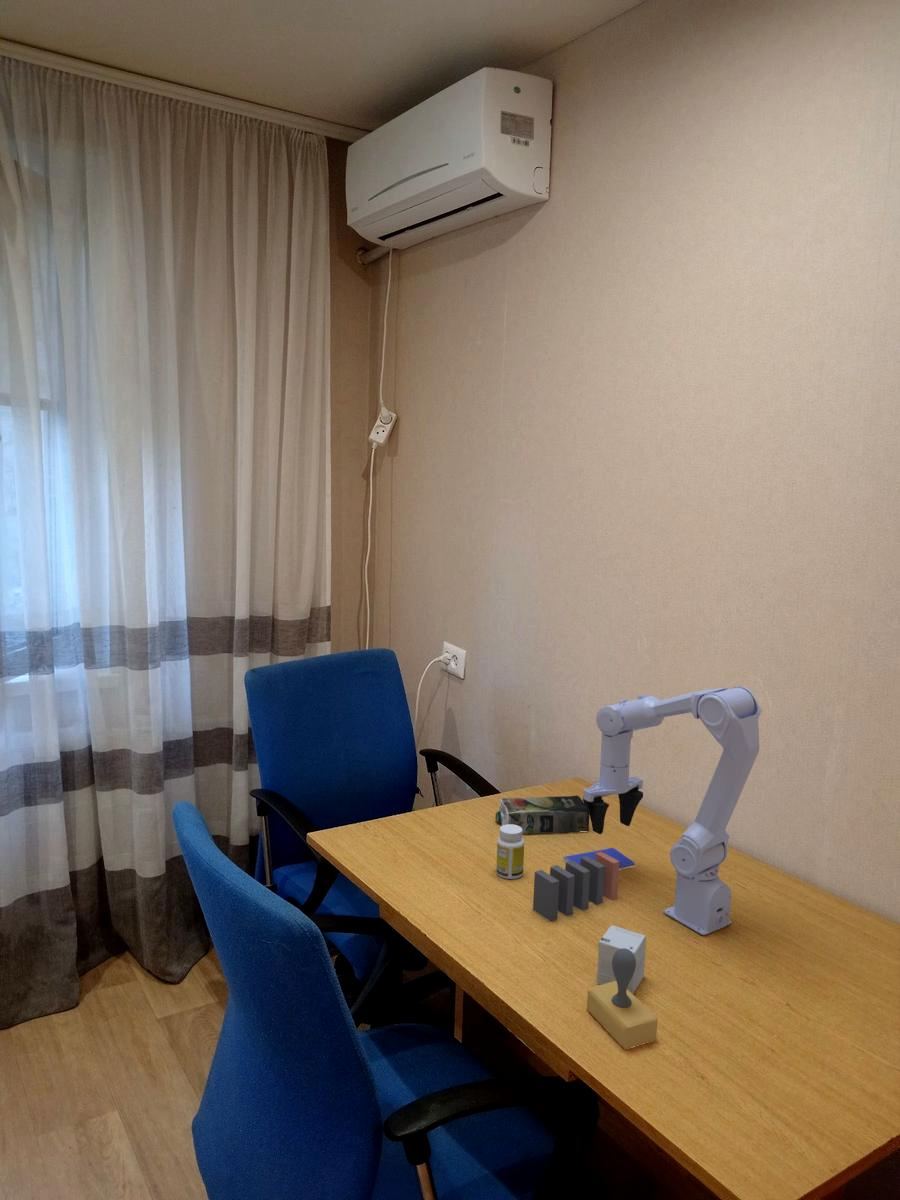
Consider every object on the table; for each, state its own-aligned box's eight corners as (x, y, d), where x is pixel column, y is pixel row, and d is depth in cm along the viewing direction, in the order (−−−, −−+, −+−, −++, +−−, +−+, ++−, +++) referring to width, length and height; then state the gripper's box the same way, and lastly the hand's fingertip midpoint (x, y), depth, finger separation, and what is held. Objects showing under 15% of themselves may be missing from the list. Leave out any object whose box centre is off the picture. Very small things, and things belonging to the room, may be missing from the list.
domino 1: (539, 907, 158) (541, 869, 156) (557, 919, 153) (559, 880, 152) (532, 909, 157) (534, 871, 156) (550, 921, 153) (552, 883, 151)
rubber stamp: (585, 1009, 128) (589, 936, 126) (617, 1001, 130) (621, 929, 128) (624, 1051, 119) (629, 972, 117) (657, 1041, 121) (663, 964, 119)
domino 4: (584, 892, 164) (586, 855, 163) (602, 903, 160) (605, 866, 159) (578, 894, 163) (580, 857, 162) (596, 905, 159) (598, 868, 158)
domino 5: (598, 887, 166) (601, 851, 165) (617, 898, 162) (619, 861, 161) (593, 889, 165) (595, 853, 164) (611, 900, 161) (613, 863, 160)
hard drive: (585, 872, 170) (635, 862, 175) (563, 855, 177) (612, 846, 182) (584, 880, 170) (635, 869, 175) (563, 862, 177) (611, 853, 182)
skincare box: (644, 977, 137) (647, 934, 135) (632, 996, 131) (635, 952, 130) (608, 965, 140) (611, 923, 139) (595, 983, 134) (598, 940, 133)
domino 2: (554, 902, 160) (556, 864, 159) (572, 913, 156) (574, 875, 154) (548, 904, 159) (550, 866, 158) (566, 916, 155) (568, 877, 154)
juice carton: (502, 837, 188) (504, 811, 187) (493, 819, 197) (495, 794, 197) (589, 835, 191) (591, 809, 190) (576, 817, 201) (577, 793, 200)
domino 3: (570, 896, 162) (572, 860, 161) (587, 908, 158) (590, 870, 157) (563, 899, 161) (565, 862, 160) (581, 910, 157) (583, 872, 156)
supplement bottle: (523, 868, 173) (525, 824, 171) (522, 880, 168) (525, 835, 166) (496, 866, 173) (498, 822, 172) (495, 878, 168) (497, 833, 167)
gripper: (626, 751, 175) (623, 814, 177) (573, 763, 167) (571, 828, 169) (651, 761, 169) (648, 826, 171) (598, 774, 161) (595, 841, 163)
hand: (611, 828), depth 169 cm, fingers open, 7 cm apart
